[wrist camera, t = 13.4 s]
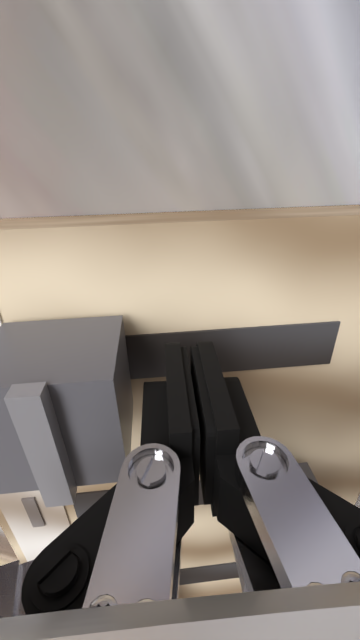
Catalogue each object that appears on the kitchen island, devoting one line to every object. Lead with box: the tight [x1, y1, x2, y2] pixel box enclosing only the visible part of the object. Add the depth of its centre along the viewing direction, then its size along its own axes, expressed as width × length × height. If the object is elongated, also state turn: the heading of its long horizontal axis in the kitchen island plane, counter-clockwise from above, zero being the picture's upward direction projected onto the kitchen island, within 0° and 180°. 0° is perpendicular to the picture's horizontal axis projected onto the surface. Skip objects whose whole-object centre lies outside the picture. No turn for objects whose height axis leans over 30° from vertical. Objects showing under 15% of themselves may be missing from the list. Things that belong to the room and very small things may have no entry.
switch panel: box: [0, 205, 360, 599], centre depth 17 cm, size 28×20×2 cm
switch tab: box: [0, 315, 133, 508], centre depth 10 cm, size 4×4×4 cm
